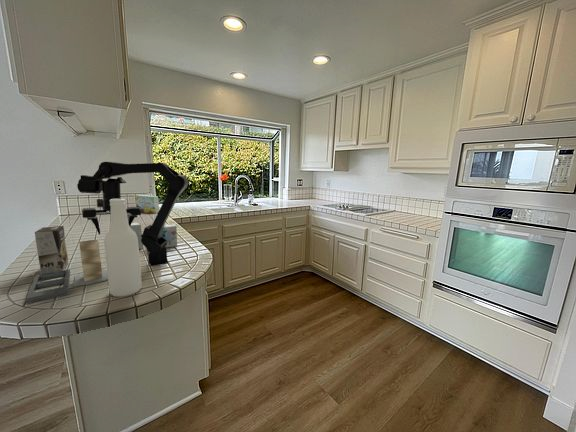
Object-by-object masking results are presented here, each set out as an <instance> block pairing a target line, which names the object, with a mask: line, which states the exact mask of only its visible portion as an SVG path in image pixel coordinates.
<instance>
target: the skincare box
mask: <svg viewBox="0 0 576 432" xmlns="http://www.w3.org/2000/svg"><path fill="white" fill-rule="evenodd" d="M130 228H131V229H132V230H133V231H134V232H135V233H136V235H137V237H138V247H139V249H140V250H141V249H144V245H143V244H142V242H141V238H142V237H140V236H141V235H142V234H143V232H142V224H140V223H138V222H132V223H131V226H130Z"/></svg>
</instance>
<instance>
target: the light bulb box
mask: <svg viewBox="0 0 576 432" xmlns="http://www.w3.org/2000/svg"><path fill="white" fill-rule="evenodd" d="M177 231H178V230H177V225H176V224H174V223H167V224H166V223H165V224H164V227H163V234H162V237H163V238H164V239H166V240H167V241H168V242H167V245H166V246H165V247H166V249H167V248H173V247H177V246H178V234H177V233H178V232H177Z"/></svg>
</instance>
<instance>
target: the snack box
mask: <svg viewBox="0 0 576 432" xmlns="http://www.w3.org/2000/svg"><path fill="white" fill-rule="evenodd" d="M134 197H135V207H138V208H139V209H141V213H147V214H155V215H156V214H158V212H159V210H160V204H159V196H158V195H148V194H135V195H134Z"/></svg>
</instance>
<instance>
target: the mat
mask: <svg viewBox="0 0 576 432" xmlns="http://www.w3.org/2000/svg"><path fill="white" fill-rule="evenodd" d="M102 277H103V278H98V279H94V280H89V281H84V275H83V274H81V273H80V274H77V275H76V274H75V275H74V288H77V287H82V286H86V285H91V284H96V283H100V282H105V281H106V282H107V281H108V273H107V269H105V270H104V269H103V270H102Z"/></svg>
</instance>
